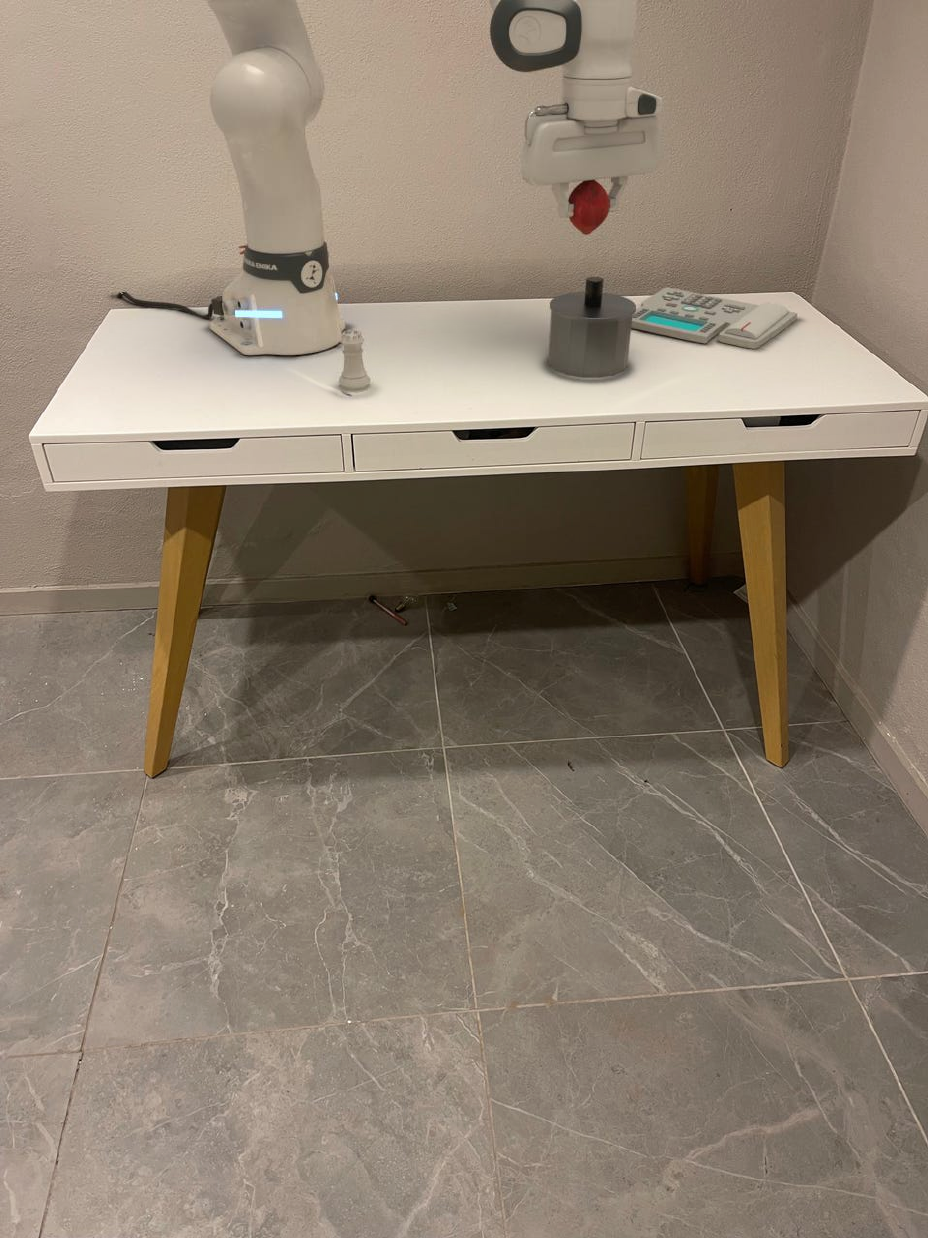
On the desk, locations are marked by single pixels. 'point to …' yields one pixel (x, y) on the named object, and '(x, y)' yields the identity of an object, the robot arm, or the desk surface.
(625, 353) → the pot
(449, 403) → the desk surface
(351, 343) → the rook chess piece
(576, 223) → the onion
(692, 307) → the office telephone
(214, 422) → the desk surface
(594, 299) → the lid
